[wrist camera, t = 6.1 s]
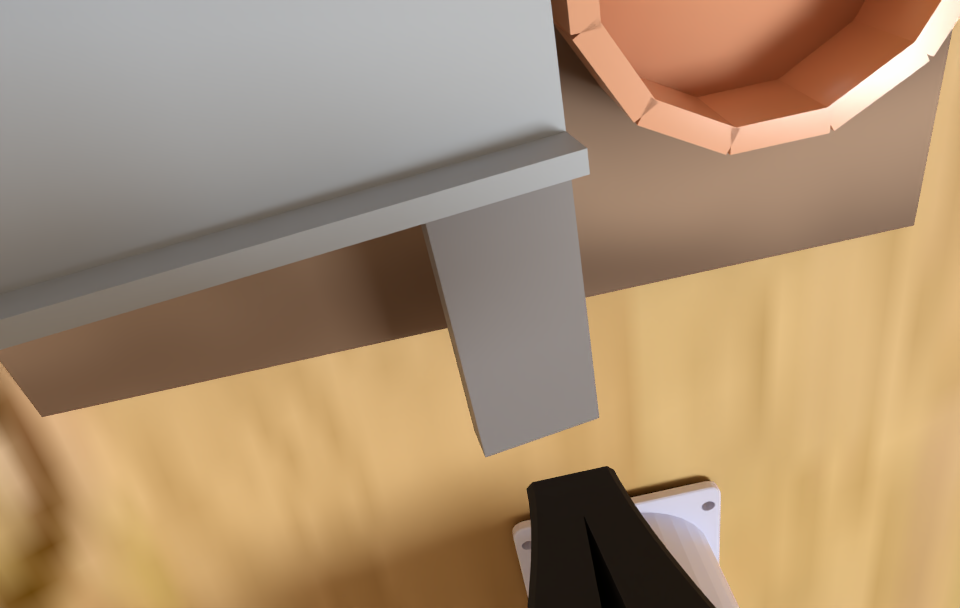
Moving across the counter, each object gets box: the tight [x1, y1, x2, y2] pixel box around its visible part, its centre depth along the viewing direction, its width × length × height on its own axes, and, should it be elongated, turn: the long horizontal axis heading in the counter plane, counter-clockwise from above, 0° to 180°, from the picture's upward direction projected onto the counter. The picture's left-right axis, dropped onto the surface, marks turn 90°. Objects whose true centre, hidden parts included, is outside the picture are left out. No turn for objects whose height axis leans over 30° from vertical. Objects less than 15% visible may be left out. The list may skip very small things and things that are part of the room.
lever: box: [0, 0, 599, 457], centre depth 13 cm, size 13×15×4 cm
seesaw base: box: [0, 25, 953, 417], centre depth 15 cm, size 14×26×4 cm, turn 100°
